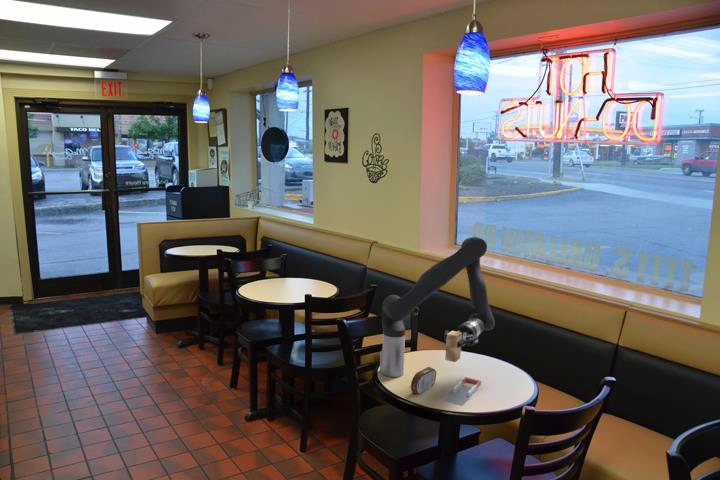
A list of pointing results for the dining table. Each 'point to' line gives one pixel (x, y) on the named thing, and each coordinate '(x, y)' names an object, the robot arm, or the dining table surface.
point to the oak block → (453, 346)
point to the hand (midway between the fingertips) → (452, 343)
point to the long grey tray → (462, 392)
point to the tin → (423, 380)
